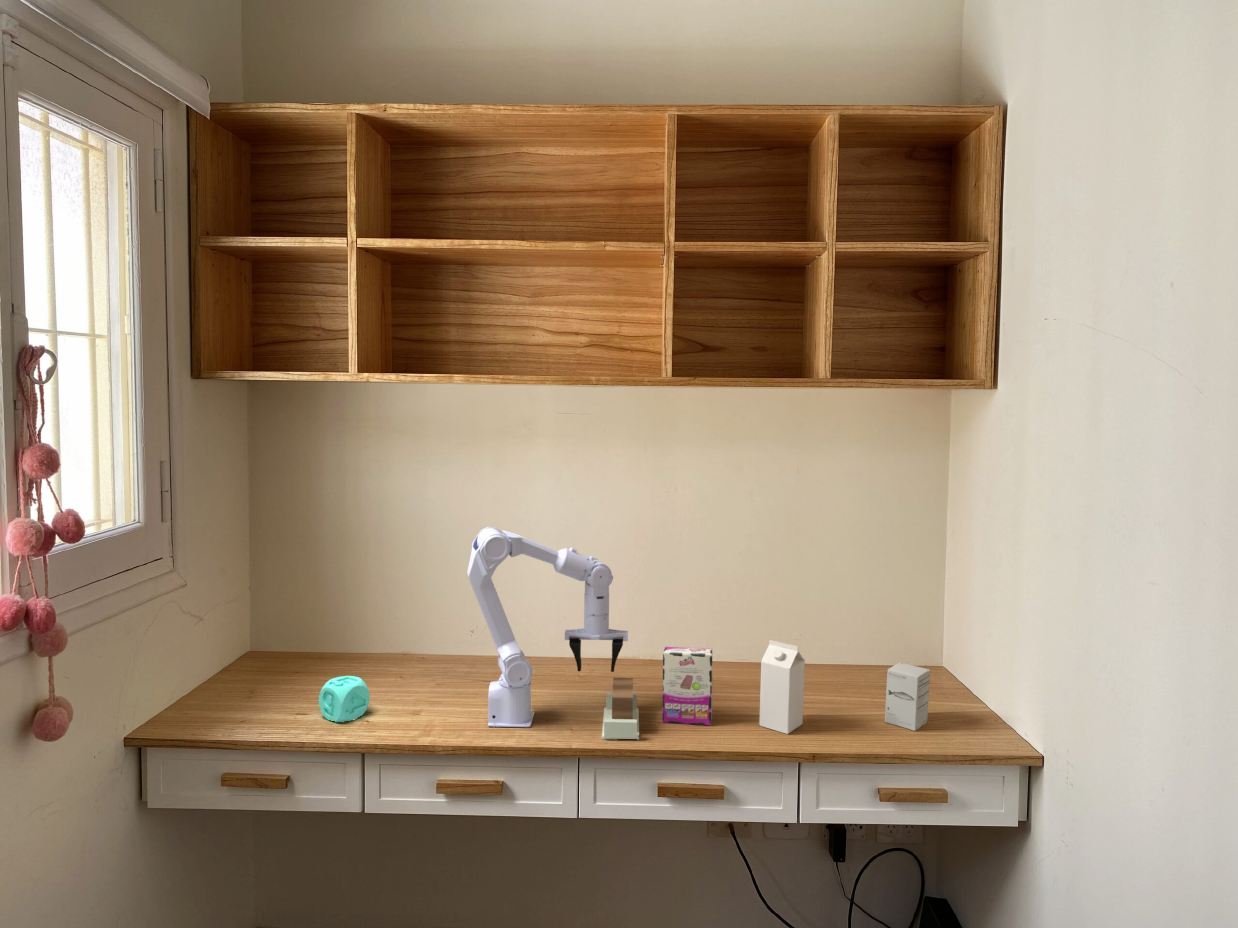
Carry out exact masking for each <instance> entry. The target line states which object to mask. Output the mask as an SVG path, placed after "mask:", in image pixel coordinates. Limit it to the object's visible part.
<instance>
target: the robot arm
mask: <svg viewBox="0 0 1238 928" xmlns="http://www.w3.org/2000/svg"><path fill="white" fill-rule="evenodd" d="M521 555H525V556H527V557H531V558H534V559H536V560H539V561H542V562H544V563H548V564H551V565H552V566H553V569H554V570H555V572H556V573H558V574H561V575H562V576H563V575H564V576H566V577H569V578H572V579H573V580H577V581H580V582H584V596H583V598H584V602H583V603H584V606H583V607H584V608H583V609H584V610H583V612H584V613H583V615H584V616H583V628H577V629H576V628H575V629H565V630H564V641H569V642H568V645H569V648H570V650H571V652H572V654H573V657H574V659H575V662H576V667H577V672H581V671H582V656H581V655H582V654H581V653H582V652H581V651H582V650H581V649H582V648H581V647H582V641H584V640H586V641H593V640H594V641H611V664H610V672H611V673H615V667H616V662H617V660H618V658H619V657H618V656H619V655H620V652H621V650H622V648H623V645H624V642H628V640H629V637H628V636H629V631H628V630H619V629H611V628H610V627H609V626H610V586H611V584H612V583H613V580H614V575H612V574H613V573H612V570H611V568H610V567H609V566H608V565H606V564H605V563H604V562H603V561H601V560H599V559H598V558H596V557H594V556H592V555H590V556H586V555H584V554H582V553H579V552H578V551H577V549H576V548H573V547H570V548H567V547H566V548H564V547H563V548H561V549H560V550H559V549H558V550H555V549H553V548H551V547H548V546H546V545H545V544H542V543H539V542H537V541H535V540H532V539H530V538H527V537H526V536H522V535H521V534H518V533H515V532H512V531H509V530H504V529H502V531H501V530H500V529H499V528H497V527H494V526H487V527H485V528H483V529H481V530H480V531H479V532H478V533H477V535H476V537H474V540H473V541H472V543H471V552H470V557H469V562H468V566H467V574H466V575H467V578H468V581H469V583H470V586H471V587H472V591H473V592H474V593H473V594H474V596H475V598H476V600H477V603H478V605H479V608H480V611H481V612H482V613H481V614H482V616H483V618H484V620H485V622H486V626H487V628H488V630H489V632H490V635H491V637H492V640H493V642H494V645H495V648H496V649H495V650H496V651H497V654H498V657H497V666H498V668H499V669H500V671H501V674H500V676H499V678H498V680H494V681H493V680H492V681H490V683H489V686H488V694H487V695H488V698H487V701H488V702H487V705H488V706H487V714H488V715H487V717H488V718H487V721H488V723H487V726H488V727H495V726H496V728H497V727H503V728H505V727H507V728H510V727H511V728H530V727H532V722H533V719H534V716H535V711H532V677H533V668H532V665H531V663H530V662H529V661H528V660H527V658H526V656H525V653H524V652H523V650H521V649H520V647H519V645H518V642H517V640H516V638H515V635H514V633H513V630H512V627H511V625H510V622H509V620H508V617H507V614H506V612H505V610H504V608H503V604H502V602H501V600H500V597H499V595H498V591H497V590H496V587H495V584H494V582H493V580H492V576H493V575H494V573H495V571H496V569H497V567H498V566H500V564H502V563H503V562H504V561H505V560H506V558H507V557H508V556H510V557H511V558H515V557H519V556H521Z"/></svg>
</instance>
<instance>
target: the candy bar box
mask: <svg viewBox="0 0 1238 928" xmlns="http://www.w3.org/2000/svg"><path fill="white" fill-rule="evenodd" d="M712 716H713V648H702V647H679V646H665V647H664V650H663V652H662V717H661V718H662V723H664V724H676V725H677V724H679V725H698V726H712Z"/></svg>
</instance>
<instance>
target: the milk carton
mask: <svg viewBox="0 0 1238 928" xmlns="http://www.w3.org/2000/svg"><path fill="white" fill-rule="evenodd" d="M805 664H806V660H805V659H804V657H803V655H801V653H800V651H799V646H798V645H794V644H789V643H785V642H781V641H776V640H772V639H769V643H768V646H767V648H766V650H765V652H764V654H763V656H762V659H761V664H760V690H759V691H760V693H759V694H760V695H759V696H760V697H759V698H760V699H759V726H760V727H763V728H767V729H770V730H773V731H776V732H780V733H783V734H787V735H788V734H790V733H791V732H793V731H794V730H796V729H797V728H799V727H800V726H802V725H803V722H804V721H803V717H804V694H805V690H804V689H805V667H806V666H805Z"/></svg>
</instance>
